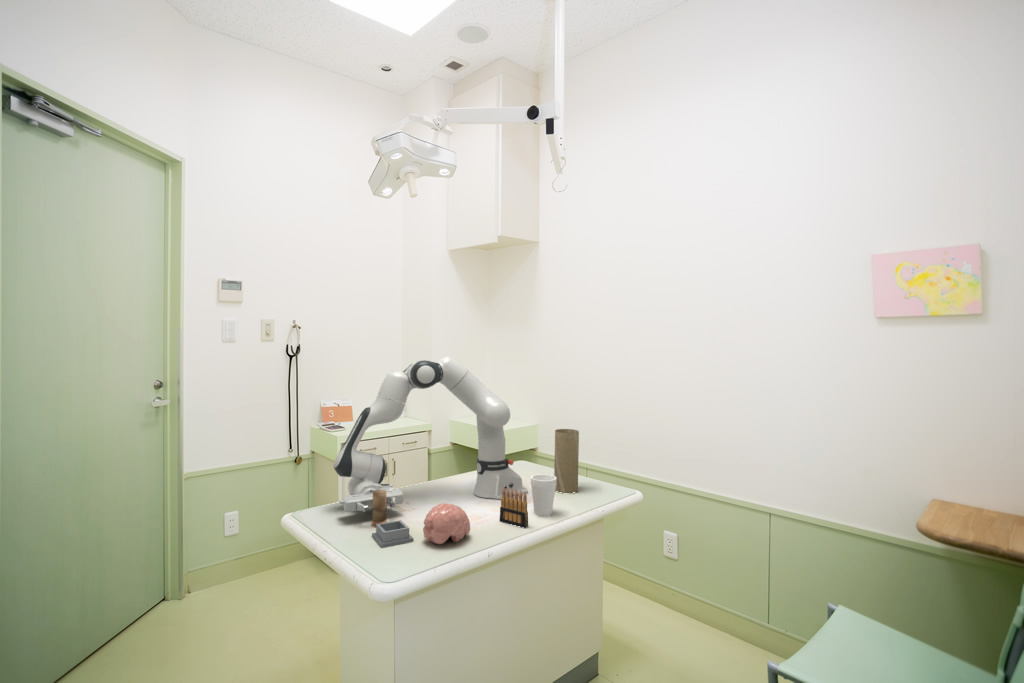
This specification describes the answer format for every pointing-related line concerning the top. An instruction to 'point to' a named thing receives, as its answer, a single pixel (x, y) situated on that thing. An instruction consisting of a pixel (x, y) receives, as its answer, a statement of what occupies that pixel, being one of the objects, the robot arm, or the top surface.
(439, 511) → the brain
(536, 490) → the foam cup
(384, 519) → the brown rounded peg
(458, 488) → the top surface
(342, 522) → the top surface
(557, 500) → the top surface
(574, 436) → the tube
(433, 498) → the top surface
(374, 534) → the socket block
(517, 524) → the ammunition clip
